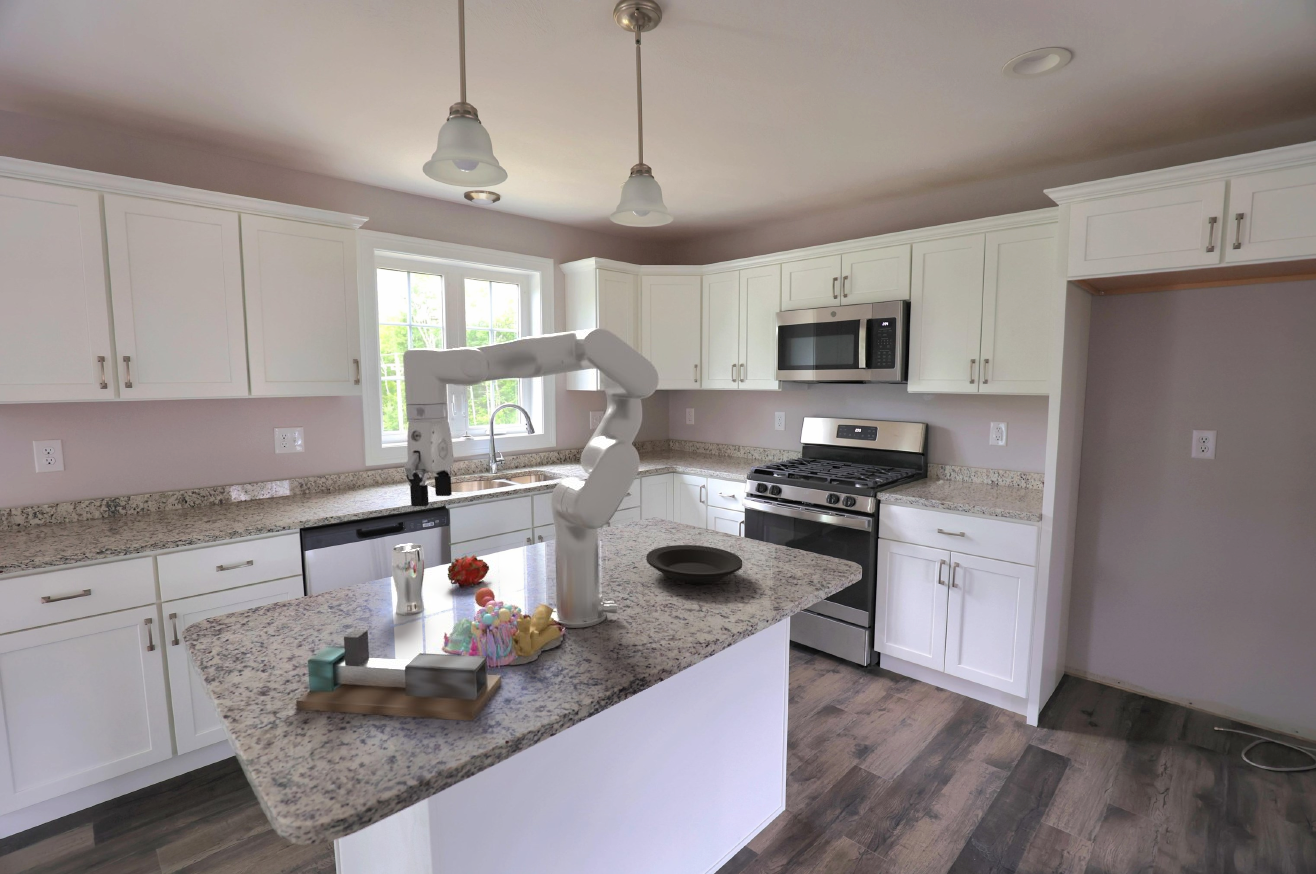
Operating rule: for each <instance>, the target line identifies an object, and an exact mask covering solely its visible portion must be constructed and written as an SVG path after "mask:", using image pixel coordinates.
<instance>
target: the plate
mask: <svg viewBox="0 0 1316 874" xmlns="http://www.w3.org/2000/svg"><path fill="white" fill-rule="evenodd" d="M645 557H646V563H647V564H648V565H649V566H650V567H652V568H653V569H654V570H656V571H658V572H659V573H661V574H663V575H665V576H666V577H668V578H670V579H672V580H674V581H676V582H678V583H679V582H680V584H682V583H683V585H690V586H701V585H707V584H710V583H713V582H716V581H720V580H723V579H725V578H727V577H729V576H731V575H733V574H736V573H737V572H739V571H740V570H741V569H742V567H743V560H742V558H741V556H738V555H737V554H736V553H733V552H732V551H731V552H730V551H728V550H726V549H722V548H718V547H712V546H706V545H695V544H676V545H674V544H673V545H665V546H661V547H657V548H654V549H651V550H650V551H649V552H648V553H647V554H646V556H645Z"/></svg>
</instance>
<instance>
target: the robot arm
mask: <svg viewBox="0 0 1316 874" xmlns="http://www.w3.org/2000/svg"><path fill="white" fill-rule="evenodd" d="M402 358H403V359H402V360H403V361H402V362H403V376H404V377H403V378H404V395H405V397H404V398H405V411H406V412H405V413H406V422H407V423H408V425H407V460H406V462H404V466H403V467H404V471H405V473H406V475H405V476H406V479H407V480H408V482H407V483H408V486H409V490H410V506H412V507H428V506H429V501H430V500H429V487H428V484H426V483H427V479H428V476H429V473H430V474H436V475H435V476H434V487H435V488H434V490H435V496H436V497H450V496H452V495H453V493H452V492H453V491H452V489H453V488H452V474H453V471H452V468H453V466H454V460H455V459H454V450H453V440H452V439H453V438H452V433H451V428H450V427H451V425H450V423H449V406H448V390H447V389H448V387H447V385H453V386H459V387H473V386H477V385H479V384H481V383H482V382H489V381H490V382H491V381H498V380H506V379H507V380H508V379H533V378H541V377H542V378H543V377H547V376H548V377H549V376H552V375H559V374H566V373H571V372H578V371H585V370H594V369H597V370H598V371H599V372H600V373H602V377H601V378H602V386H603V390H604V392H605V395H606V401H607V404H606V405H607V406H606V411H605V413H604V415H603V417H602V418H601V421H600V423H599V425H598V426H597V428H596V429H595V431H594V432H593V434H592V436H591V437H590V439H589V440H588V442H587V444H586V445H585V447H584V449H583V450H582V452H581V455H580V465H581V468H582V469H583V471H584V472H585V473H586V474H587V475H588V476H587V478H586V479H584V478H580V477H576V476H575V477H566V478H564V479H563V480H561V481H560V482H558V483H557V485H556V486H555V487H554V489H553V491H552V493H551V498H550V500H551V501H550V508H551V514H552V520H553V527H554V528H553V529H554V542H555V543H554V544H555V550H554V552H555V592H556V594H555V598H556V603H555V604H556V607H554V608H552V609H553V612H552V615H551V618H554V621H557V622H559V623H560V624H561V625H562V626H563V627H564V628H567V629H570V628H571V629H581V628H588V627H592V626H595V625H598V624H600V623H601V622H603V621H604V620H605V619H606V617H607V614H608V613H609V614H618V613H619V604H616V601H610V600H609V601H605V599H603V597H604V596H603V593H601V594H600V575H599V574H600V572H599V571H600V569H599V568H600V566H599V565H600V564H599V555H600V554H599V553H600V552H599V549H600V548H599V544H600V543H599V534H598V532H599V531H598V529H599V528H602V527H604V526H606V525H607V523H609V522H610V521H611V519H612V518H613V516H615V513H617V511H618V509H619V508H620V506H621V504H622V502H623V500H624V499H625V497H626V496H627V494H628V492H629V490H630V489H631V487H632V485H633V484H634V482H635V480H636V478H637V475H638V472H639V469H640V462H641V461H640V455H639V453H638V450H637V449H636V447H635V446H634V445H633V444H632V443H633V442H634V440H635V439H636V436H637V434H638V432H639V431H640V428H641V425H642V422H643V406H642V400H641V399H645V398H649V397H650V396H652V395H653V394H654V393H655V391H657V388H658V385H659V380H660V379H659V374H658V371H657V369H656V367H655V365H653V363H652V361H650V360H649V359H648V358H646V357H645V356H643V354H641V353H640V352H639V351H637V350H636V349H635V348H633V347H632V346H631V345H629V344H628V343H627V342H626V341H624V340H623V339H621V338H620V337H619V336H618V335H616V334H615V333H613V332H611V331H610V330H608V329H606V328H602V327H594V328H589V329H588V328H587V329H581V330H574V331H565V332H557V333H551V334H541V335H533V336H526V337H522V338H521V337H520V338H518V339H517V338H516V339H514V340H510V341H509V340H508V341H506V342H500V343H495V344H488V345H481V346H474V347H473V346H472V347H471V346H467V347H459V348H452V349H451V348H449V349H439V348H427V347H426V348H411V349H407V350H405V351H404V353H403V357H402Z"/></svg>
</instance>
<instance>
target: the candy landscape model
mask: <svg viewBox="0 0 1316 874" xmlns="http://www.w3.org/2000/svg"><path fill="white" fill-rule="evenodd" d="M495 596H496V595H495V593H494V591H493V590H492V589H491V588H489V587H482V588H480V589H479V590H477V592H476V593H475V596H474V600H475V603H476V605H478V606H479V607H481V608H480V609H478V611H476V614H475V615H474V616H473V621H472V620H470V619H469V618H466V617H463V618H462V619H459V620H458V621H457V622H456V623H455V624H454V626H453V627H452V631H451V632H450V633H449V634H448V633H446V632H444V636H443V643H442V648H441V649H442V651H444V652H446V653H449V654H454V655H464V656H483V657H487V670H488V669H490V668H493V667H494V668H496V666H498V669H500V668H501V667H500V666H505V665H513V666H514V665H515V666H516V665H523V664H527V663H529V662H533V661H535V660H537V659H538V656H540V655H541V653H542V651H547V650H550V649H553V648H556V647H558V646H559V645H561V644H562V641H563V640H564V638H563V637H564V634H565V633H566V627H563V626H562V625H561V624H560V623H559V622H557V621H554V618H551V615H552V612H553V609H554V608H552V607H550V606H548V605H547V604H544V603H539V604H538V606H537V607H536V609H535V611H534V612H533V614H532V615H531V616H530V615H529V614H522V609H521V608H520V607H519V606H518V605H515V604H507V603H504V601H502V600H500V601H497V600H496V599H495Z"/></svg>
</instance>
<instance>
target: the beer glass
mask: <svg viewBox="0 0 1316 874" xmlns="http://www.w3.org/2000/svg"><path fill="white" fill-rule="evenodd" d="M391 572H392V573H391V574H392V578H393V582H394V586H395V587H394V588H395V591H396V597H397V598H396V600H397V601H396V607H395V608H396V609H395V612H396V614H397V615H400V616H411V615H412V616H413V615H417V614H419V613H421V612H423V611H424V610H425V605H424V602H423V600H424V599H423V595H422V593H423V592H422V591H423V584H424V575H425V574H424V573H425V555H424V548H423V545H422V544H420V543H405V544H399V545H396V546H394V547H392V548H391Z"/></svg>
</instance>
